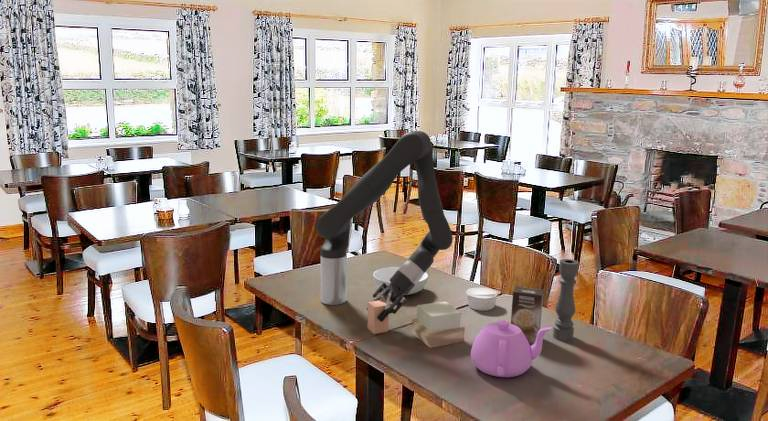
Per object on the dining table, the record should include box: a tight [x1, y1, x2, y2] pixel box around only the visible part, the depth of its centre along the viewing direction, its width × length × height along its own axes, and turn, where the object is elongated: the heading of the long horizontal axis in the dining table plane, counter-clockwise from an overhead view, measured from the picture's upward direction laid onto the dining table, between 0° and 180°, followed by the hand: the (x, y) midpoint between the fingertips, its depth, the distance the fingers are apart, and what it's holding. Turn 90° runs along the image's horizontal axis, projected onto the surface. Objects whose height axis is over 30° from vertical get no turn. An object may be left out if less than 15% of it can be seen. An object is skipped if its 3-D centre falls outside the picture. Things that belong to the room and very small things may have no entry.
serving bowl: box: [372, 266, 429, 296], centre depth 237 cm, size 21×21×7 cm
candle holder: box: [552, 258, 580, 342], centre depth 196 cm, size 6×6×25 cm
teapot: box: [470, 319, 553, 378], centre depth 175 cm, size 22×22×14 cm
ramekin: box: [465, 287, 498, 312], centre depth 223 cm, size 11×11×5 cm
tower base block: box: [411, 318, 465, 348], centre depth 196 cm, size 12×12×5 cm
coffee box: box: [510, 285, 544, 344], centre depth 195 cm, size 9×6×16 cm
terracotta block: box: [367, 299, 389, 335], centre depth 201 cm, size 5×5×9 cm
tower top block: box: [416, 301, 462, 332], centre depth 195 cm, size 10×10×5 cm
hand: (373, 315), depth 200 cm, fingers open, 7 cm apart
